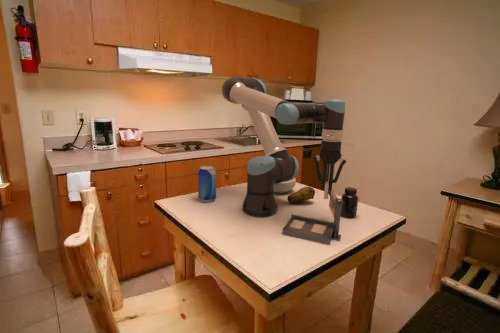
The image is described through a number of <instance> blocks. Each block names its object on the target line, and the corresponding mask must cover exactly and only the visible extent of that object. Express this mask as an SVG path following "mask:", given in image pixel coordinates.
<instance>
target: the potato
mask: <svg viewBox="0 0 500 333" xmlns="http://www.w3.org/2000/svg"><path fill="white" fill-rule="evenodd" d="M315 194H316V190H315V189H314V188H313V187H311V186H304V187H301V188H300V189H298V190H296V191H294V192H292V193H290V194H288V196H287V198H286V199H287V200H286V201H287V202H288V203H290V204H300V203H303V202H307V201H309V200H314V197H315Z"/></svg>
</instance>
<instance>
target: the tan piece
mask: <svg viewBox="0 0 500 333" xmlns="http://www.w3.org/2000/svg"><path fill="white" fill-rule="evenodd" d="M328 196H329V202H328V206H329V207H328V208H329V210H330V212H331V213H332V216H333V217H334V216H335V206H336V201H335V199H337V198H338V196H337V194H336V193H335V191H334V188H333V187H332V190H331V191H329V195H328Z"/></svg>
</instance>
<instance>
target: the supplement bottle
mask: <svg viewBox="0 0 500 333" xmlns="http://www.w3.org/2000/svg"><path fill="white" fill-rule="evenodd" d="M357 194H358V189H357V188H355V187H352V186H351V187H349V186H348V187H347V186H346V187H344V193H342V195H341V198H340V199H343V202H342V207H341V216H342V217H343V218H347V219H353V218H356V216H357V212H358V204H359V196H358V195H357ZM341 216H340V217H341Z"/></svg>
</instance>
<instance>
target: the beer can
mask: <svg viewBox="0 0 500 333" xmlns="http://www.w3.org/2000/svg"><path fill="white" fill-rule="evenodd" d="M197 176H198V177H197V178H198V180H197V182H198V185H197V186H198V187H197V188H198V190H197V191H198V199H199V200H200V202H201V203H213V202H214V201H215V200H216V199H217V171H216V169H215V167H214V166H212V165H203V166H200V167H199V170H198V172H197Z"/></svg>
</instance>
